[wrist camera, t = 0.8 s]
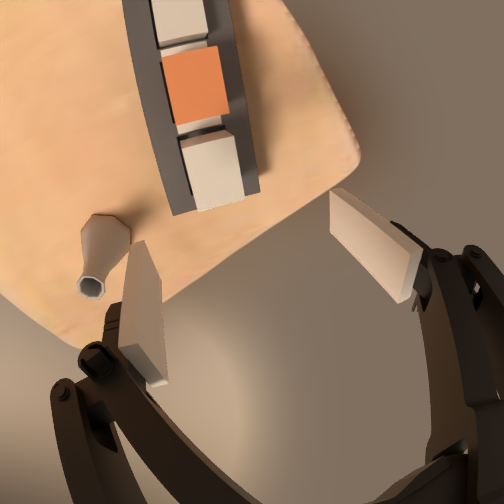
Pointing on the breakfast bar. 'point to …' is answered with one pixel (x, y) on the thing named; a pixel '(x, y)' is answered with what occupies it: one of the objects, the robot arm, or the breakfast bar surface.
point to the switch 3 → (213, 169)
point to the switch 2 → (195, 85)
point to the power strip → (159, 104)
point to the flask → (101, 252)
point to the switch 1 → (179, 21)
